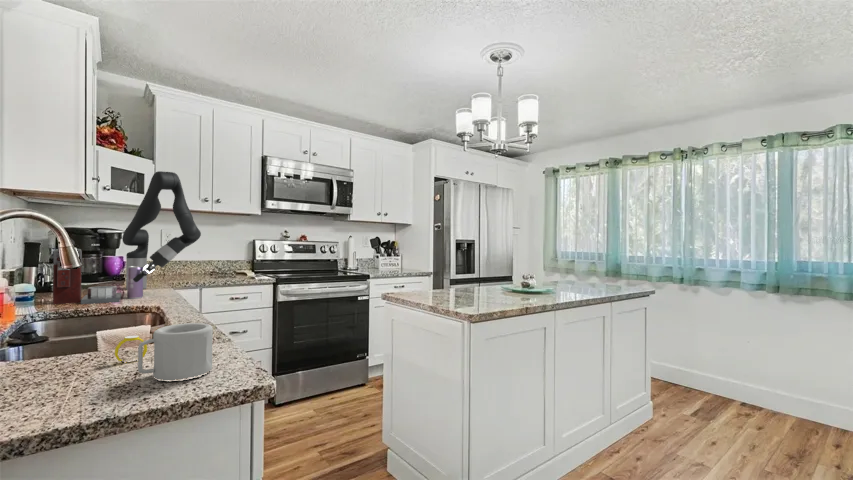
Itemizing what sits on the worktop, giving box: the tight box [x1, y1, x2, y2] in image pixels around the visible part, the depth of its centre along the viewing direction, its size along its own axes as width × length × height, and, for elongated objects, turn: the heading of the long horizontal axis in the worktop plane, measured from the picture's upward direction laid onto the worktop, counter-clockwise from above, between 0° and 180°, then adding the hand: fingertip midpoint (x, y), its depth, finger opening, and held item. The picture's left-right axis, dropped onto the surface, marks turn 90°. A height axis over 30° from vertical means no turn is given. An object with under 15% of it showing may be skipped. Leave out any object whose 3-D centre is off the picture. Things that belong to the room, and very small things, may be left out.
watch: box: [114, 335, 148, 362], centre depth 92 cm, size 6×3×6 cm, turn 139°
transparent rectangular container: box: [80, 285, 122, 305], centre depth 179 cm, size 18×13×6 cm
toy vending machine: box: [52, 238, 83, 305], centre depth 172 cm, size 9×11×28 cm
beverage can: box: [126, 266, 144, 300], centre depth 187 cm, size 6×6×15 cm
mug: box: [137, 322, 214, 380], centre depth 83 cm, size 14×11×10 cm
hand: (134, 280), depth 187 cm, fingers open, 8 cm apart
